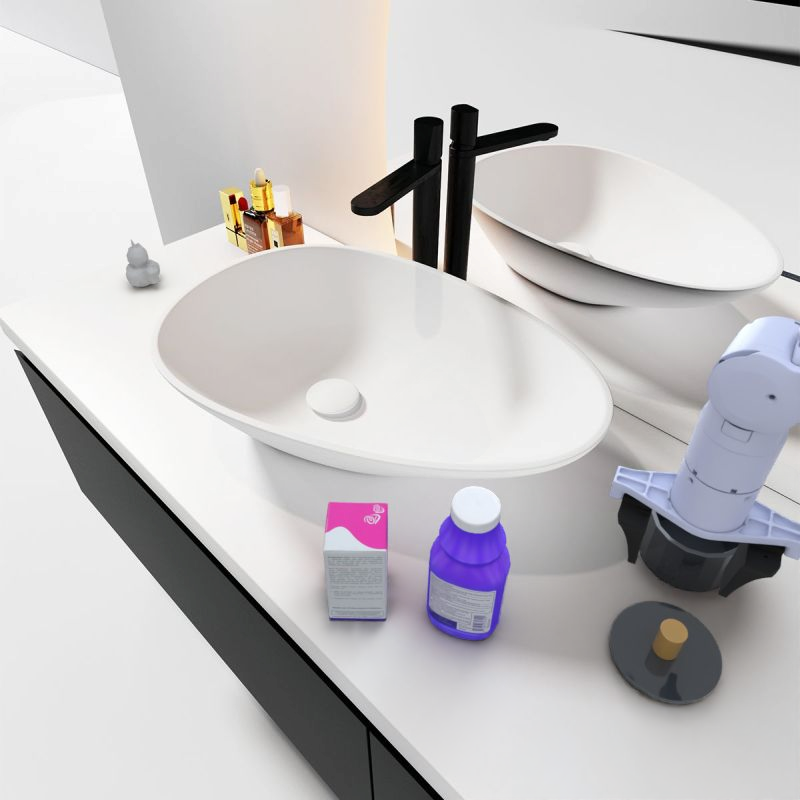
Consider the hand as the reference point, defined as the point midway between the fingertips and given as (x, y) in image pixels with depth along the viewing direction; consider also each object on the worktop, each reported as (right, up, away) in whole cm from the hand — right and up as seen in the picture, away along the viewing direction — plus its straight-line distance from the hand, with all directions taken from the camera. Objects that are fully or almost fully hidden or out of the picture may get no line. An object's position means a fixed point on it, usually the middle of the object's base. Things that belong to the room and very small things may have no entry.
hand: (677, 570), depth 61 cm
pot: (+6, -1, +13) cm, 14 cm away
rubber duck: (-65, +34, +53) cm, 90 cm away
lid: (0, -9, +4) cm, 9 cm away
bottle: (-18, -7, +8) cm, 21 cm away
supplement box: (-28, -5, +10) cm, 30 cm away
